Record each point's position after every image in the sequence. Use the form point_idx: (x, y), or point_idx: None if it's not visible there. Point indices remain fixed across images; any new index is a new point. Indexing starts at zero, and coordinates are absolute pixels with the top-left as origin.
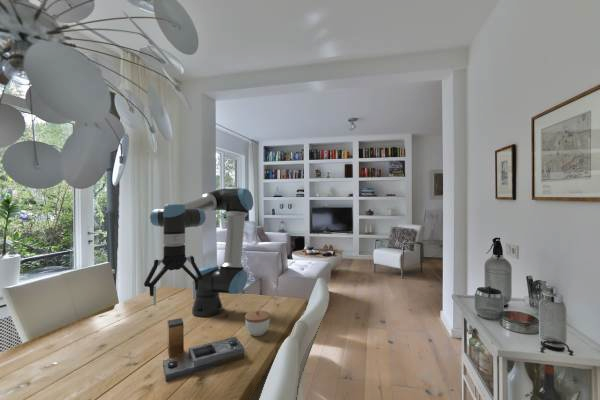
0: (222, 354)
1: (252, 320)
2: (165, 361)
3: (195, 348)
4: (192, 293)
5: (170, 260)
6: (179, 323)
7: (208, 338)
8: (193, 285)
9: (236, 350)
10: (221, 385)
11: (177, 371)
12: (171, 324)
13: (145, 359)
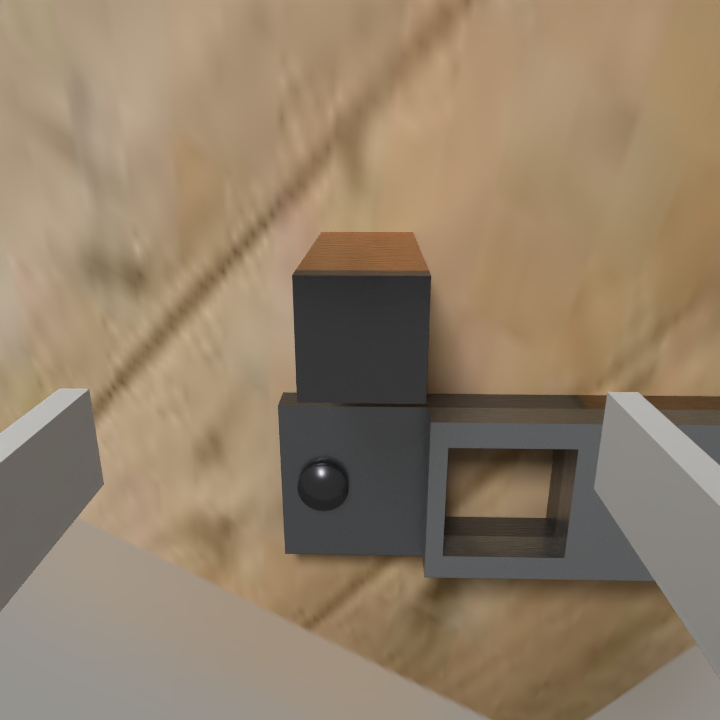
0: (587, 574)
1: None
2: (291, 426)
3: (469, 447)
4: (631, 474)
5: None
6: (390, 402)
7: (623, 168)
8: (703, 645)
9: None
10: (502, 671)
11: (340, 551)
12: (320, 393)
13: (187, 256)
